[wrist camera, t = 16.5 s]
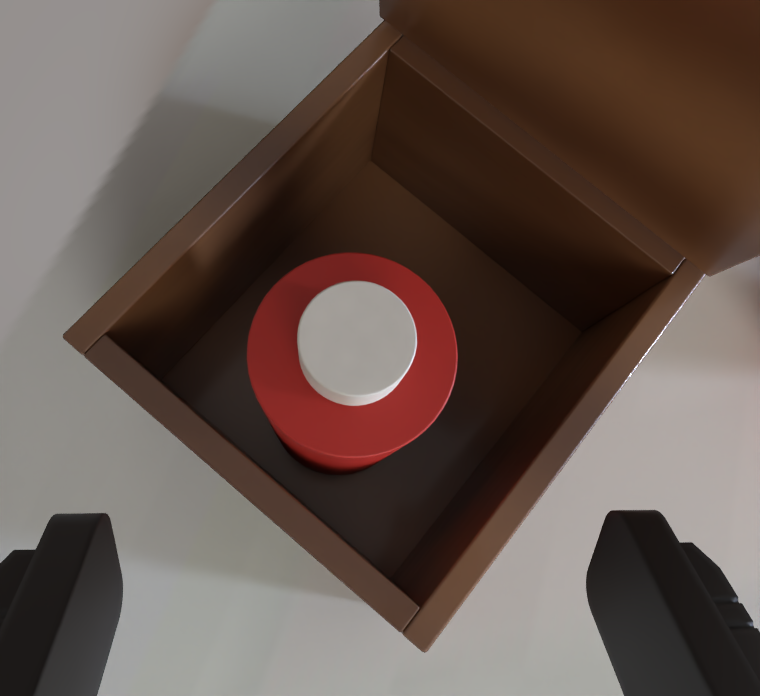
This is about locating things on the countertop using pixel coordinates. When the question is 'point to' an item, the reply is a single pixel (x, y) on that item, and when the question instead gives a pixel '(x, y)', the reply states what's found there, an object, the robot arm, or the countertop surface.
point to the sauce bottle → (350, 360)
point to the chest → (450, 283)
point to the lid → (624, 101)
